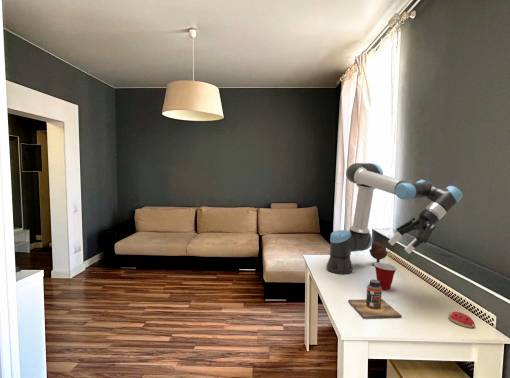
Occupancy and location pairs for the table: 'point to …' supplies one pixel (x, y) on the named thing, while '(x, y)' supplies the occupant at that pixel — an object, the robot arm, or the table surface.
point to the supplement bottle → (374, 294)
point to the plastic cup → (385, 274)
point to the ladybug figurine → (461, 319)
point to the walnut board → (374, 310)
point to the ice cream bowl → (378, 251)
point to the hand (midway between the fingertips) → (397, 247)
